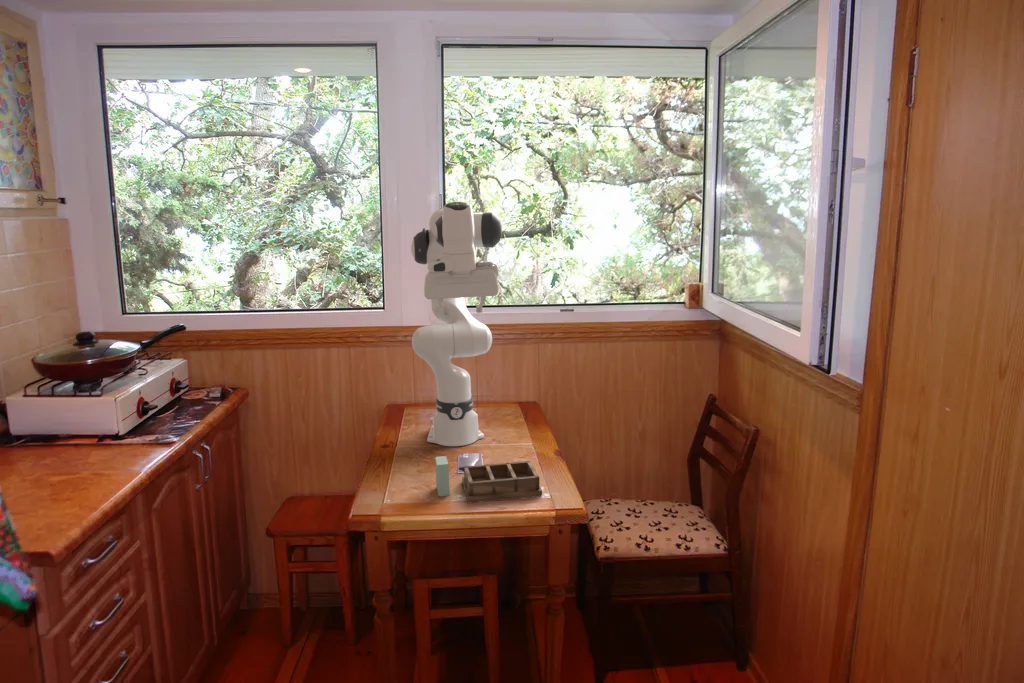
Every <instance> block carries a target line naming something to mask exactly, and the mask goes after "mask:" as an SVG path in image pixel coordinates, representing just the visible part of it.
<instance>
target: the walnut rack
mask: <svg viewBox="0 0 1024 683" xmlns="http://www.w3.org/2000/svg"><path fill="white" fill-rule="evenodd" d="M461 479H462V485H464V486H463V489H464V491H465V496H466V495H467V496H466V498H467V502H468V503H469V502H472V503H480V502H479V501H483V502H491V501H493V502H494V501H501V500H503V499H504V500H513V499H522V498H523V497H524V498H533V497H532V496H535V497H542V496H543V490H542V488H541V486H540V476H539V474H538V473H537V471H536V469H535V467H534V465H533V464H532V462H531V460H524V461H523V460H522V461H511V462H502V463H501V462H500V463H490V464H483V465H476V466H464V474H463V476H462V478H461ZM541 495H542V496H541ZM524 498H523V499H524Z"/></svg>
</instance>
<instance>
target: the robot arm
mask: <svg viewBox="0 0 1024 683" xmlns="http://www.w3.org/2000/svg"><path fill="white" fill-rule="evenodd" d="M428 225H429V229H425V227H423V228H422V230H421V231H420V232H417V233H416V234H415V236H413V240H412V241H411V246H410V251H411V255H412V257H413V258H414V261H415V262H416V263H417V264H419V265H427V270H428V271H427V273H426V275H425V276H424V288H423V290H424V293H423V294H424V295H423V296H424V297H425V298H426V299H427V300H430V302H431V310H432V313H433V314H434V316H435V318H436V319H438V320H439V321H441V322H443V323H441V324H439V323H438V324H436V323H435V324H428V325H425V326H421V327H417V329H415V330H414V332H413V335H412V338H411V346H412V349H413V351H414V353H415V354H416V356H418V357H419V358H420V359H422V360H423V361H425V362H426V364H428V365H429V367H430V368H431V370H432V372H433V375H434V377H435V383H436V394H437V395H436V401H435V405H436V407H435V408H436V412H435V414H434V415H433V416H431V417H430V424H431V427H430V429H429V433H428V436H427V437H426V438H427V439H426V442H428V443H433V444H437V445H440V446H444V447H460V446H461V447H462V446H467V445H471V444H473V443H475V442H476V441H478V440H481V439H484V438H485V434H484V433H483V432H482V431H481V430H480V429H479V420H478V419H479V418H478V417H479V415H478V413H476V412H475V410H473V408H474V407H473V406H474V401H473V397H472V384H471V383H472V381H471V380H472V378H471V376H470V373H469V372H468V371H467V370H466V369H464V368H462V367H460V366H457V365H455V364H453V363H452V359H454V358H468V357H469V358H470V357H476V356H480V355H483V354H487V353H488V352H489V351H490V349H491V347H492V344H493V335H492V332H491V329H490V328H489V326H487V325H486V324H484V323H482V322H481V321H479V320H478V319H476V318H475V317H474V316H473V315H472V314H471V313H470V311H469V310H468V307H467V304H466V299H465V298H478V297H479V300H480V302H479V305H476V306H475V308H476V313H477V314H481V313H483V306H484V304H485V302H486V301H487V297H494V296H495V297H496V296H497V295H498V294H499V282H498V279H497V277H498V276H499V266H498V265H497V263H494V262H492V261H488V262H487V261H486V262H481V261H480V262H478V261H477V253H478V250H479V248H495V247H496V246H497V244H499V243H500V241H501V239H502V236H503V235H502V233H503V230H502V229H503V227H502V223H501V219H500V218H499V216H498V215H496V213H495V212H493V211H483V212H473V208H472V204H470V203H467V202H463V201H453V202H448V203H446V204H444V206H443V207H442V208H438V209H437V210H435V211H434V212H433V213H432V214H431V216H430V219H429V223H428Z"/></svg>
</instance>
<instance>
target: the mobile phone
mask: <svg viewBox="0 0 1024 683" xmlns="http://www.w3.org/2000/svg"><path fill="white" fill-rule="evenodd" d="M482 456H483V454H482V453H481V452H474V453H460V454H458V456H457V474H459V473H464V466H476V465H484V460H483V459H484V457H483V458H482Z"/></svg>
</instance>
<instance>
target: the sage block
mask: <svg viewBox="0 0 1024 683" xmlns="http://www.w3.org/2000/svg"><path fill="white" fill-rule="evenodd" d="M435 480H436V481H435V483H436V491H437V495H438V496H437V497H444V496H443V495H446V496H450V474H449V462H448V459H447V455H445V456H442V455H441V456H435Z"/></svg>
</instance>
